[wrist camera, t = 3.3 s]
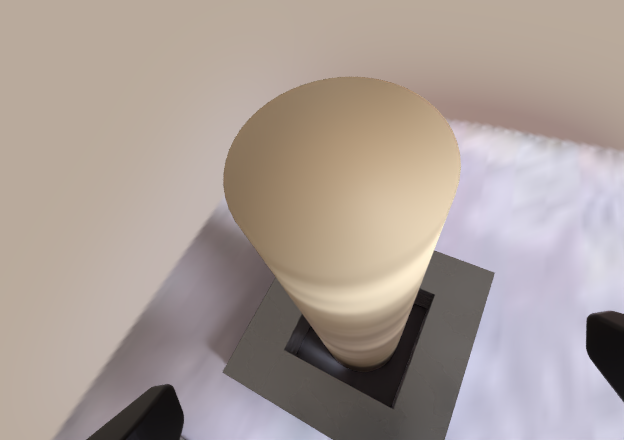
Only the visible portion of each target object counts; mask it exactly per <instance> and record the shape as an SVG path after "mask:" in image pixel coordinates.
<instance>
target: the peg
mask: <svg viewBox="0 0 624 440" xmlns="http://www.w3.org/2000/svg"><path fill="white" fill-rule="evenodd" d="M460 170H461V163H460V152H459V148H458V144H457V140H456V138H455V136H454V133H453V131H452V129H451V127H450V126H449V124H448V123H447V121H446V119H445V118H444V117H443V116H442V115H441V114H440V112H439V111H438V110H437V109H436V108H435V107H434V106H433V105H432V104H430V103H429V102H428V101H427V100H425V99H424V98H422V97H421V96H419V95H417V94H416V93H414V92H412V91H411V90H409V89H407V88H405V87H402V86H399V85H396V84H394V83H391V82H387V81H383V80H379V79H373V78H365V77H337V78H329V79H323V80H319V81H314V82H311V83H308V84H304V85H301V86H299V87H296V88H294V89H291V90H289V91H287V92H285V93H283V94H281V95H279V96H278V97H276V98H274V99H273V100H271V101H270V102H268V103H267V104H266V105H264V106H263V107H262V108H260V109H259V110H258V111H257V112H256V113H255V114H254V115H253V116H252V117H251V118H250V119H249V120H248V121H247V122H246V124H245V125H244V126H243V127H242V128H241V130H240V131H239V133H238V134H237V136H236V137H235V139H234V141H233V143H232V145H231V147H230V149H229V152H228V155H227V159H226V163H225V168H224V192H225V198H226V201H227V204H228V208H229V210H230V212H231V214H232V216H233V218H234V220H235V222H236V223H237V224H238V226H239V227H240V228H241V230H242V231H243V233H244V234H245V235H246V237H247V238H248V240H249V241H250V242H251V244H252V245H253V246H254V248H255V249H256V251H257V252H258V253H259V255H260V256H261V257H262V259H263V260H264V262H265V263H266V264H267V266H268V267H269V268H270V270H271V271H272V273H273V274H274V275H275V277H276V278H277V280H278V281H279V282H280V284H281V285H282V286H283V288H284V289H285V291H286V292H287V293H288V295H289V296H290V297H291V299H292V300H293V302H294V303H295V304H296V306H297V307H298V308H299V310H300V311H301V313H302V314H303V315H304V317H305V318H306V319H307V321H308V322H309V324H310V325H311V326H312V328H313V329H314V331H315V332H316V333H317V335H318V336H319V337H320V339H321V340H322V342H323V343H324V344H325V346H326V347H327V348H328V350H329V351H330V353H331V354H332V355H333V357H334V358H335V359H336V360H337V361H338V362H339V363H340V364H341V365H343V366H344V367H346V368H348V369H350V370H353V371H358V372H369V371H373V370H376V369H379V368H381V367H382V366H384V365H385V364H386V363H387V362H388V361H389V360H390V359H391V358H392V356H393V354H394V352H395V350H396V348H397V345H398V343H399V340H400V337H401V335H402V332H403V330H404V327H405V324H406V322H407V319H408V317H409V314H410V311H411V309H412V306H413V303H414V301H415V298H416V296H417V293H418V290H419V288H420V285H421V283H422V280H423V277H424V275H425V272H426V270H427V267H428V264H429V262H430V259H431V257H432V254H433V251H434V249H435V246H436V243H437V241H438V238H439V236H440V233H441V230H442V228H443V225H444V223H445V220H446V217H447V215H448V212H449V210H450V207H451V204H452V202H453V199H454V197H455V194H456V190H457V187H458V183H459V178H460Z"/></svg>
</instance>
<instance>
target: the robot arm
mask: <svg viewBox="0 0 624 440" xmlns="http://www.w3.org/2000/svg"><path fill="white" fill-rule="evenodd" d="M586 349H587V353H588V355H589V357H590V359H591V360H592V362H593V363H594V364H595V366H596V367H597V368H598V370H599V371H600V372H601V374H602V375H603V376H604V377H605V379H606V380H607V381H608V383H609V384H610V385H611V386H612V388H613V389H614V390H615V392H616V393H617V394H618V396H619V397H620V398H621V399H622V401H623V402H624V314H622V313H618V312H615V311H604V312H598V313H592V314H590V315H589V316H588V318H587V324H586ZM183 424H184V414H183V410H182V408H181V405H180V403H179V400H178V397H177V395H176V392H175V390H174V388H173V386H172V385H170V384H165V385H159V386H154V387H151V388H150V389H149V390H147V391H146V392H145V393H144V394H142V395H141V396H140V397H139V398H137V399H136V400H135V401H134V402H132V403H131V404H130V405H129V406H127V407H126V408H125V409H124V410H123V411H121V412H120V413H119V414H118V415H116V416H115V417H114V418H113V419H111V420H110V421H109V422H108V423H106V424H105V425H104V426H103V427H101V428H100V429H99V430H98V431H96V432H95V433H94V434H93V435H92V436H90V437H89V438H88V439H87V440H180V438H181V433H182V429H183Z"/></svg>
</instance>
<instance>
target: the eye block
mask: <svg viewBox="0 0 624 440" xmlns="http://www.w3.org/2000/svg"><path fill="white" fill-rule="evenodd" d="M494 274H495V273H494V272H491V271H488V270H486V269H483V268H480V267H478V266H475V265H472V264H469V263H467V262H464V261H461V260H459V259H456V258H453V257H450V256H448V255H445V254H442V253H440V252H437V251H433V254H432V257H431V259H430V262H429V264H428V267H427V270H426V272H425V275H424V277H423V280H422V283H421V285H420V288H419V290H418V293H417V296H416V298H415V301H414V303H415V304H417V305H419V306H422V307H424V308H426V309H427V311H426V314H425V316H424V319H423V322H422V325H421V327H420V330H419V333H418V336H417V338H416V341H415V344H414V347H413V349H412V352H411V355H410V357H409V360H408V363H407V366H406V368H405V371H404V374H403V377H402V379H401V382H400V385H399V388H398V390H397V393H396V396H395V398H394V401H393V404H392V407H391V408H390V407H388V406H386V405H384V404H383V403H381V402H379V401H377V400H375V399H373V398H372V397H370V396H368V395H366V394H364V393H362V392H360V391H359V390H357V389H355V388H353V387H351V386H349V385H348V384H346V383H344V382H342V381H340V380H338V379H336V378H335V377H333V376H331V375H329V374H327V373H325V372H324V371H322V370H320V369H318V368H316V367H314V366H313V365H311V364H309V363H307V362H305V361H303V360H301V359H300V358H298V357H296V354H297V352H298V350H299V348H300V346H301V344H302V342H303V340H304V338H305V336H306V334H307V331H308V329H309V327H310V324H309V322H308V321H307V319H306V318H305V317H304V315H303V314H302V313H301V311H300V310H299V308H298V307H297V306H296V304H295V303H294V302H293V300H292V299H291V297H290V296H289V295H288V293H287V292H286V291H285V289H284V288H283V286H282V285H281V284H280V282H279V281H278V280H277V278H275V279H274V281H273V283H272V285H271V287H270V288H269V290H268V292H267V294H266V295H265V297H264V299H263V301H262V303H261V304H260V306H259V308H258V310H257V312H256V313H255V315H254V317H253V319H252V320H251V322H250V324H249V326H248V328H247V329H246V331H245V333H244V335H243V337H242V338H241V340H240V342H239V344H238V345H237V347H236V349H235V351H234V353H233V354H232V356H231V358H230V360H229V362H228V363H227V365H226V367H225V369H224V370H223V373H224V374H226V375H228V376H229V377H231V378H233V379H234V380H236V381H238V382H239V383H241V384H242V385H244V386H246V387H247V388H249V389H251V390H252V391H254V392H256V393H257V394H259V395H261V396H262V397H264V398H265V399H267V400H269V401H270V402H272V403H274V404H275V405H277V406H279V407H280V408H282V409H283V410H285V411H287V412H288V413H290V414H292V415H293V416H295V417H297V418H298V419H300V420H302V421H303V422H305V423H306V424H308V425H310V426H311V427H313V428H315V429H316V430H318V431H320V432H321V433H323V434H325V435H326V436H328V437H329V438H331V439H333V440H445V437H446V433H447V430H448V427H449V423H450V420H451V417H452V413H453V410H454V407H455V403H456V400H457V397H458V393H459V390H460V387H461V383H462V380H463V377H464V373H465V370H466V367H467V363H468V360H469V357H470V353H471V350H472V347H473V343H474V340H475V337H476V333H477V330H478V327H479V324H480V320H481V317H482V314H483V310H484V307H485V304H486V300H487V297H488V294H489V290H490V287H491V284H492V280H493V277H494Z"/></svg>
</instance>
